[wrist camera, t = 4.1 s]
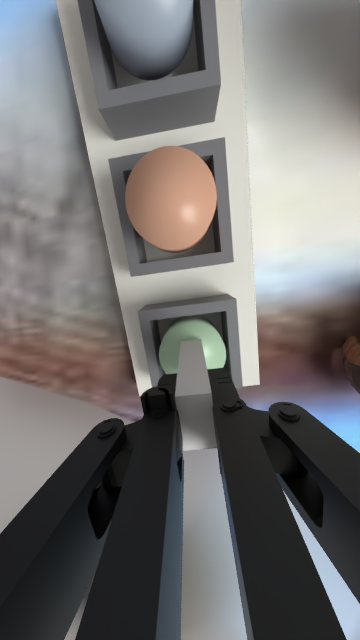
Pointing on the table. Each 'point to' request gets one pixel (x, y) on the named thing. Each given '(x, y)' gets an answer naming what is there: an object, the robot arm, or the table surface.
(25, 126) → the table surface
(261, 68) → the table surface
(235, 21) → the button panel
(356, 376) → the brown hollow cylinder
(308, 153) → the table surface
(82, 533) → the robot arm
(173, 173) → the terracotta button
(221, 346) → the sage button
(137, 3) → the slate button
